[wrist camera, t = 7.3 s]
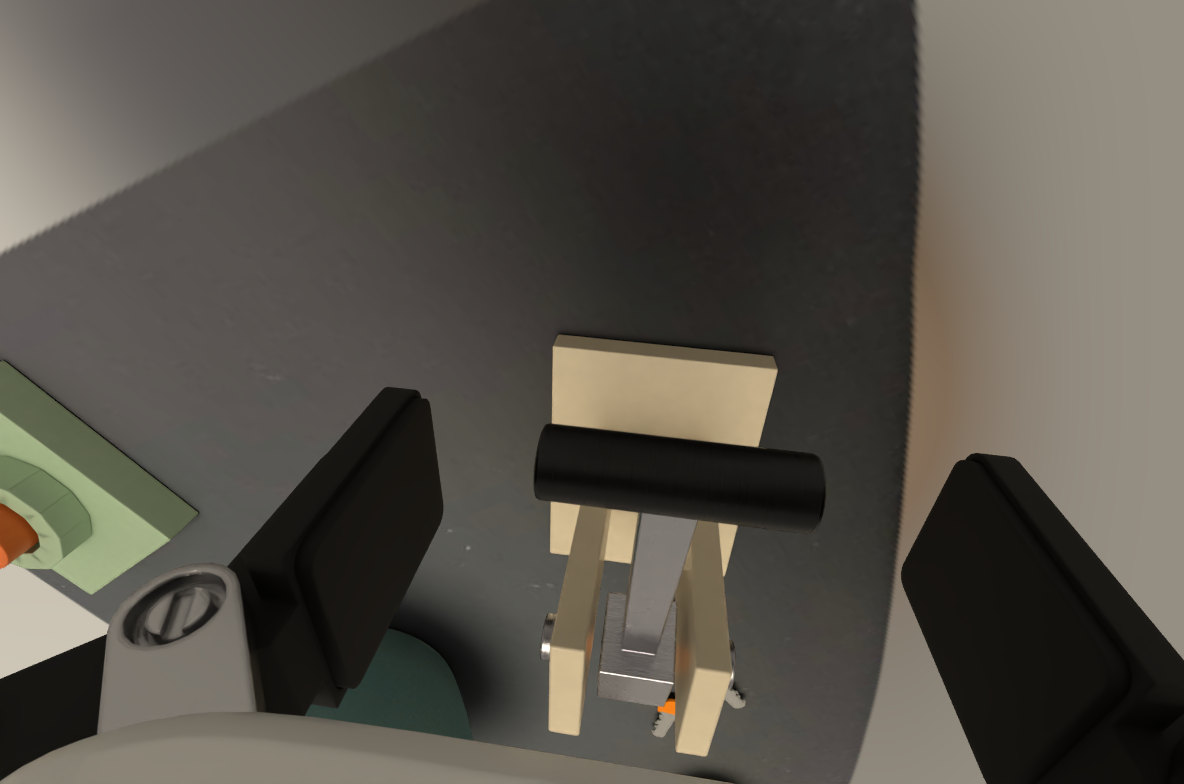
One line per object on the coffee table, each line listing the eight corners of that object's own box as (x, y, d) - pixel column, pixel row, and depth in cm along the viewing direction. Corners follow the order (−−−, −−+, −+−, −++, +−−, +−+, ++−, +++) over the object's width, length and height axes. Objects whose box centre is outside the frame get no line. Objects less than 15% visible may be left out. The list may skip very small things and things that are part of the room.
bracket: (558, 333, 23) (469, 538, 13) (773, 355, 23) (852, 590, 12) (554, 536, 30) (491, 779, 20) (723, 558, 29) (748, 824, 19)
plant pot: (436, 761, 44) (362, 975, 34) (228, 652, 40) (70, 860, 30) (575, 677, 36) (534, 928, 26) (331, 527, 32) (161, 757, 21)
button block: (-61, 441, 32) (-148, 485, 29) (4, 359, 28) (-88, 400, 25) (121, 567, 36) (63, 620, 33) (199, 512, 32) (143, 565, 29)
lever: (550, 388, 11) (523, 496, 9) (817, 417, 10) (837, 535, 9) (566, 616, 20) (554, 690, 18) (708, 637, 19) (707, 714, 18)
